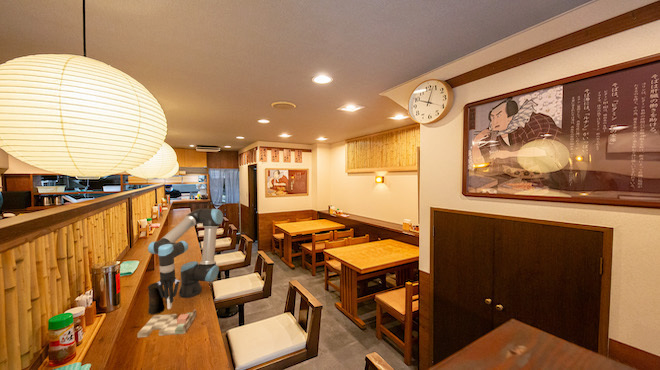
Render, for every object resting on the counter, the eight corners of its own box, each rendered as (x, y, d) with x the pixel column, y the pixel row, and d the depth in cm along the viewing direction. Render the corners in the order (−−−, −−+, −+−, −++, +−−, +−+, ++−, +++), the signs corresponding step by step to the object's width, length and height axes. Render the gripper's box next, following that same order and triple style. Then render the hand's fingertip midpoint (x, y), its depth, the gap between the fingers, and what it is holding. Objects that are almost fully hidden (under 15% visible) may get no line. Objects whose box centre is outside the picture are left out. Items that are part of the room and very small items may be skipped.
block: (180, 319, 153) (180, 314, 153) (189, 318, 154) (189, 313, 154) (177, 324, 148) (176, 319, 148) (186, 323, 149) (185, 318, 149)
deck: (153, 319, 157) (153, 312, 156) (196, 315, 161) (195, 309, 160) (137, 337, 140) (137, 330, 140) (185, 333, 144) (185, 326, 144)
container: (146, 311, 165) (145, 285, 164) (162, 305, 172) (161, 280, 170) (150, 316, 159) (148, 289, 158) (166, 310, 166) (165, 284, 164)
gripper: (151, 274, 143) (154, 312, 146) (176, 272, 145) (178, 310, 148) (158, 268, 150) (161, 304, 153) (181, 267, 152) (184, 303, 155)
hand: (169, 307), depth 150 cm, fingers closed
